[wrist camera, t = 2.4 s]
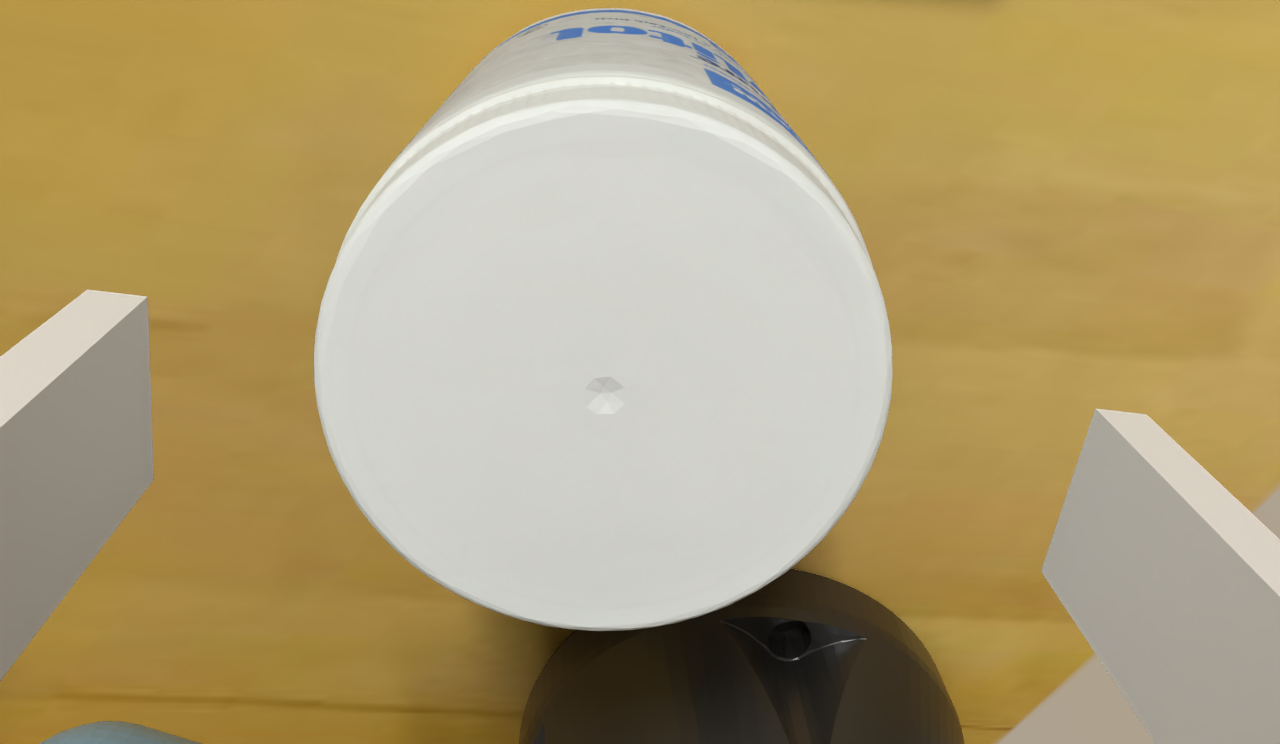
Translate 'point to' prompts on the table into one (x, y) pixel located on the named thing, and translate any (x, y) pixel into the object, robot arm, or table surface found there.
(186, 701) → the table surface
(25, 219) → the table surface
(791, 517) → the supplement tub
